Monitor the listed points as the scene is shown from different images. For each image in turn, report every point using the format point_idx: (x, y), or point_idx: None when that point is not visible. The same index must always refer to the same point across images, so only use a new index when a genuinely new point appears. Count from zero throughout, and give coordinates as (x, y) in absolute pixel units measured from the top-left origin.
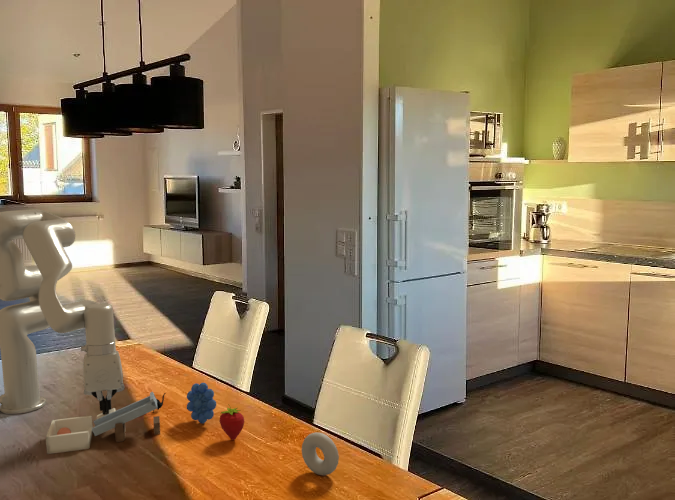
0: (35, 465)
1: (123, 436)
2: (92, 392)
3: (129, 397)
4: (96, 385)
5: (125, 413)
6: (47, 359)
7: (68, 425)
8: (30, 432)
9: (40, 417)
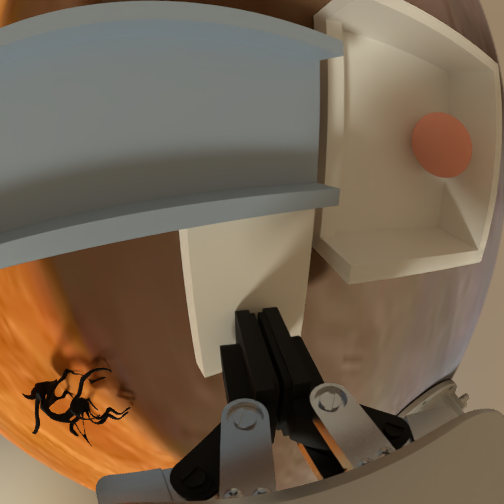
0: (451, 9)
1: None
2: (408, 435)
3: None
4: (450, 499)
5: (34, 29)
6: None
7: (426, 241)
8: (464, 281)
9: (419, 372)
